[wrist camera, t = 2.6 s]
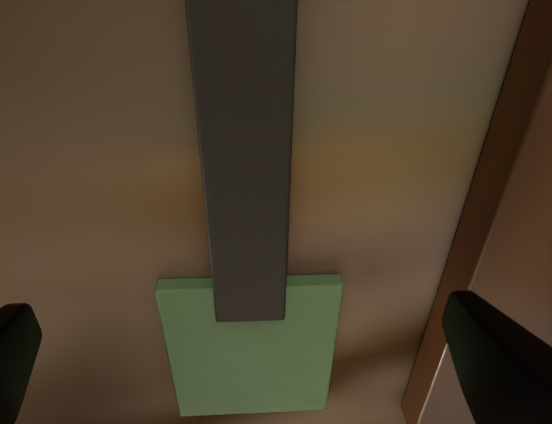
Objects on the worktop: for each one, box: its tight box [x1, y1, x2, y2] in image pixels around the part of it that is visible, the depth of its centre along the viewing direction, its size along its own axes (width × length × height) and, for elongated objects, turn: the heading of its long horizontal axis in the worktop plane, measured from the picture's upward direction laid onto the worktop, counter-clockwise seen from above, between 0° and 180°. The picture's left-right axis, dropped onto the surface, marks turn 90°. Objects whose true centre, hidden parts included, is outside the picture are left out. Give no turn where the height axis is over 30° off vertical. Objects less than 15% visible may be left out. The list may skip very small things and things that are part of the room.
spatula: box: [155, 0, 343, 416], centre depth 12 cm, size 17×6×2 cm, turn 179°
